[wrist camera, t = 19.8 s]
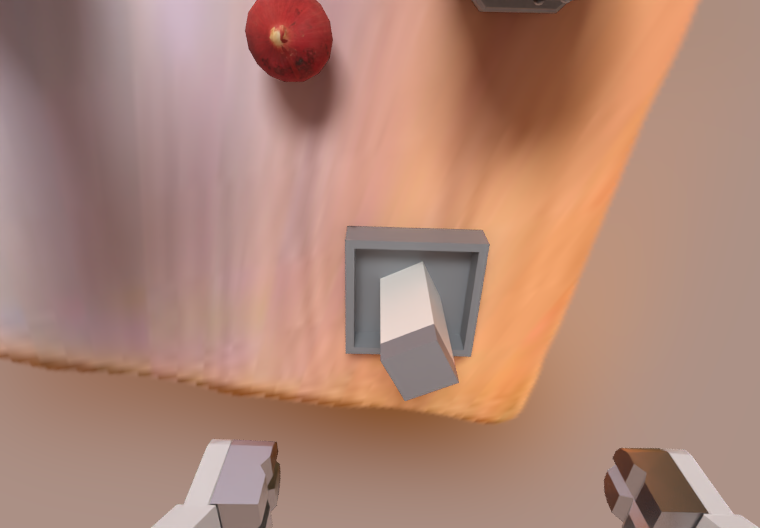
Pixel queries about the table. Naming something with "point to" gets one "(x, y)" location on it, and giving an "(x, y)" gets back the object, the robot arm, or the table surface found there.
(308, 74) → the onion
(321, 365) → the table surface
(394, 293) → the plug
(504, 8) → the tankard
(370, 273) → the walled box
